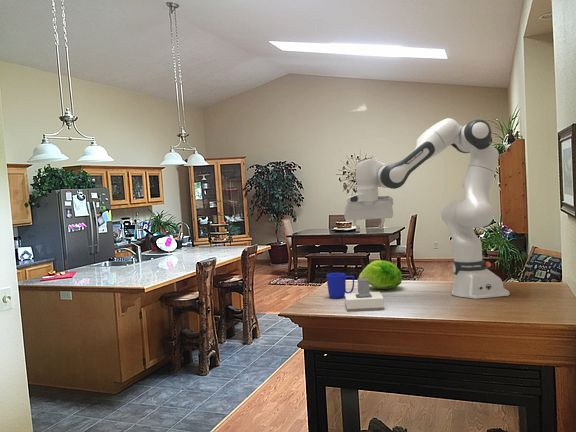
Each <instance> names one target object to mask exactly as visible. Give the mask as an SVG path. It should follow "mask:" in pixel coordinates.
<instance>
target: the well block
mask: <svg viewBox="0 0 576 432" xmlns="http://www.w3.org/2000/svg"><path fill="white" fill-rule="evenodd" d="M369 294H370V297H369V298H358V292H351V293H345V295H344V298H345V299H344V301H345V303H344V304H345V307H346V311H347V312H348V313H349V312H365V311H368V312H369V311H385V305H384V304H385V302H384V297H383V295H382V294H381V292H380V291H369Z"/></svg>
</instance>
